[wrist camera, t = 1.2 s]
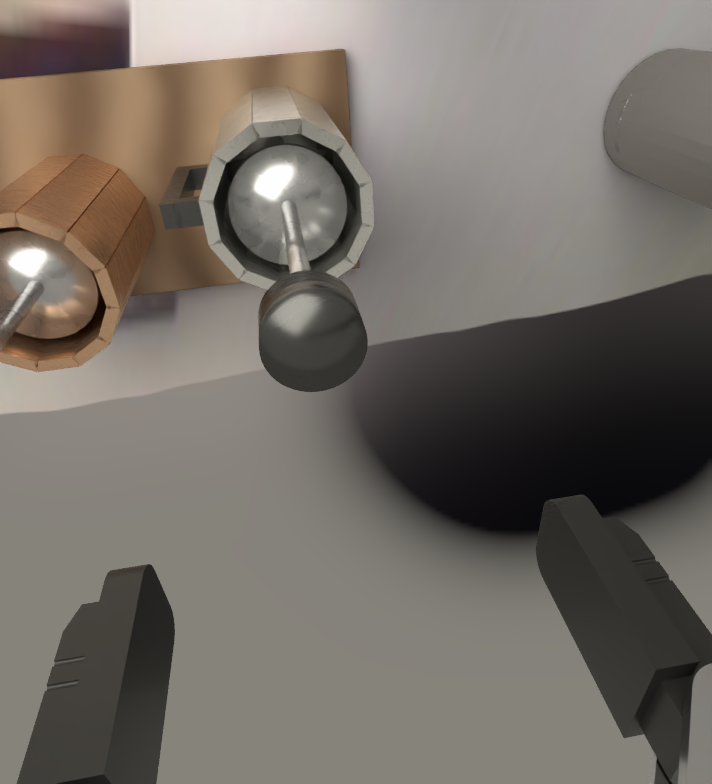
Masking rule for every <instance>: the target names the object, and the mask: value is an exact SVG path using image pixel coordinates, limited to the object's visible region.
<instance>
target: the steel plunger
mask: <svg viewBox="0 0 712 784" xmlns="http://www.w3.org/2000/svg"><path fill="white" fill-rule="evenodd" d="M346 213H347V200H346V193H345V190H344V186H343V184H342V182H341V179H340V177H339V175H338V174H337V172H336V170H335V169H334V168H333V166H332V165H331V164H330V163H329V162H328V161H327V160H326V159H325V158H324V157H323V156H322V155H320V154H319V153H318V152H316V151H314V150H312V149H310V148H308V147H305V146H302V145H298V144H292V143H278V144H273V145H269V146H266V147H263V148H261V149H259V150H257V151H256V152H254V153H253V154H251V155H250V156H249V157H248V158H247V159H246V160H245V161H244V162H243V163H242V164H241V165H240V167H239V168H238V170H237V171H236V173H235V175H234V178H233V180H232V183H231V187H230V192H229V215H230V219H231V223H232V225H233V228H234V230H235V232H236V234H237V235H238V237H239V238H240V240H241V241H242V242H243V244H244V245H245V246H246V247H247V248H248V249H249V250H251V251H252V252H253V253H254V254H256V255H258V256H259V257H261V258H263V259H265V260H267V261H270V262H273V263H278V264H286V265H289V271H290V274H288V275H286V276H284V277H282V278H280V279H279V280H277V281H276V282H275V283H274V284H273V285H272V286H271V287H270V288H269V289H268V290H267V292H266V293H265V295H264V297H263V299H262V301H261V304H260V307H259V351H260V357H261V360H262V363H263V365H264V367H265V368H266V370H267V371H268V372H269V374H270V375H271V376H272V377H273V378H274V379H275V380H276V381H278V382H279V383H281V384H282V385H284V386H286V387H289V388H292V389H294V390H299V391H305V392H317V391H323V390H327V389H331V388H334V387H336V386H338V385H340V384H342V383H344V382H345V381H346V380H348V379H349V378H350V377H351V376H353V374H355V373H356V371H357V370H358V369H359V367H360V366H361V364H362V362H363V360H364V358H365V355H366V352H367V333H366V330H365V327H364V324H363V321H362V318H361V315H360V313H359V310H358V307H357V304H356V301H355V299H354V296H353V294H352V293H351V291H350V290H349V288H348V287H347V286H346V285H345V284H344V283H343V282H342V281H341V280H339V279H338V278H336V277H335V276H332V275H330V274H328V273H325V272H321V271H315V270H311V269H310V265H309V261H311V260H313V259H315V258H317V257H319V256H320V255H322V254H323V253H325V252H326V251H327V250H328V249H329V248H330V247H331V246H332V245H333V244H334V243H335V241H336V240H337V239H338V237H339V235H340V233H341V231H342V229H343V226H344V223H345V219H346Z"/></svg>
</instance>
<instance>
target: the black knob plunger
mask: <svg viewBox="0 0 712 784" xmlns="http://www.w3.org/2000/svg"><path fill="white" fill-rule="evenodd" d="M99 297H100V290H99V285H98V282H97V279H96V276H95V274H94V272H93V271H92V270H91V269H90V268H89V267H88V266H87V265H86V264H85V263H84V262H82V261H81V260H80V259H79V258H78V257H77V256H76V255H75V254H74V253H73V252H72V251H71V250H70V249H69V248H67V247H66V246H65V245H64V244H63V243H62V242H60V241H57V240H54V239H52V238H49V237H46V236H43V235H40V234H37V233H35V232H32V231H29V230H26V229H23V228H14V229H8V230H5V231H2V232H0V351H1V350H2V348H3V347H4V346H5V344H6V343H7V342H8V340H9V339H10V338H11V336H12V335H13V333H14V332H15V331H16V332H18V333H21V334H23V335H27V336H31V337H35V338H45V339H52V338H60V337H65V336H68V335H71V334H73V333H75V332H77V331H79V330H80V329H82V328H83V327H84V326H85V325H86V324H87V323H88V322H89V321H90V320H91V318H92V316H93V315H94V313H95V311H96V309H97V306H98V303H99Z"/></svg>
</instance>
